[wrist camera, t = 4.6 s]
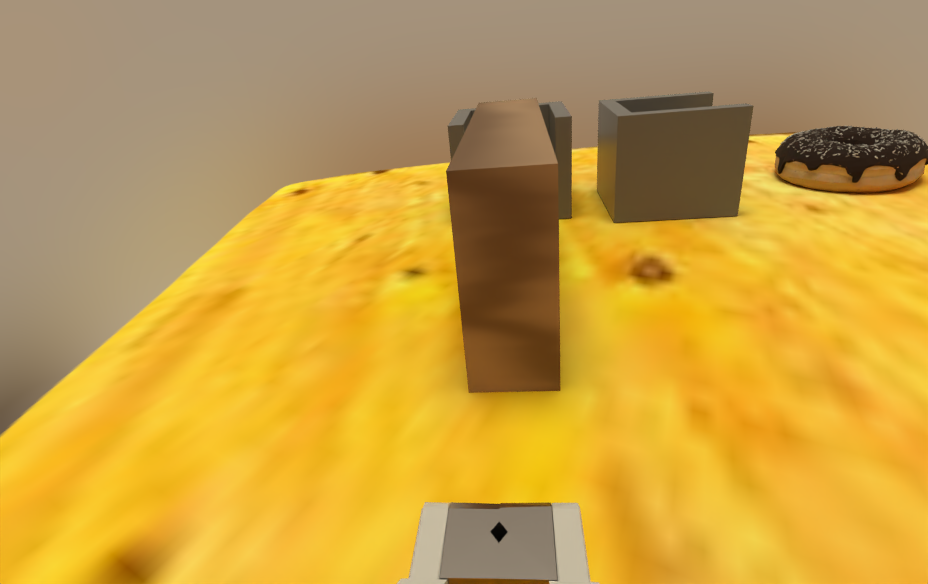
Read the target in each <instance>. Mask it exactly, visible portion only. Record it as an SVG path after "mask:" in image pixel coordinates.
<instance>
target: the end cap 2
mask: <svg viewBox="0 0 928 584" xmlns="http://www.w3.org/2000/svg"><path fill="white" fill-rule="evenodd" d="M712 102H713V93H711V92H699V93H686V94H674V95H662V96H650V97H639V98H638V97H637V98H626V99H612V100H600V101H599V117H598V119H599V120H598V122H599V123H598V162H597V191H598V193H599V195H600V197H601V199H602V201H603V203H604V205H605V207H606V209H607V211H608V212H609V214H610V216H611V218H612V220H613V222H614V223H618V222H636V221H654V220H672V219H690V218H708V217H726V216H738V209H739V202H740V195H741V188H742V181H743V174H744V168H745V161H746V154H747V147H748V140H749V133H750V126H751V118H752V112H753V105H749V104H736V105H723V106H712Z"/></svg>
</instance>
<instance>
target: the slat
mask: <svg viewBox="0 0 928 584" xmlns="http://www.w3.org/2000/svg"><path fill="white" fill-rule="evenodd" d="M446 173H447V183H448V193H449V203H450V212H451V222H452V232H453V242H454V252H455V261H456V271H457V281H458V291H459V301H460V310H461V320H462V330H463V340H464V350H465V359H466V369H467V379H468V389H469V393H471V392H521V391H560V313H559V208H558V162H557V159H556V156H555V153H554V150H553V147H552V144H551V141H550V138H549V135H548V132H547V129H546V125H545V122H544V119H543V116H542V113H541V110H540V107H539V104H538V101H537V98H532V99H520V100H508V101H496V102H484V103H479V104H478V106H477V108H476V110H475V112H474V114H473V116H472V118H471V120H470V122H469V124H468V127H467V129H466V131H465V133H464V135H463V137H462V139H461V141H460V143H459V145H458V147H457V150H456V152H455V154H454V156H453V158H452V160H451V162H450V164H449V166H448V168H447V171H446Z"/></svg>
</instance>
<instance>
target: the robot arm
mask: <svg viewBox="0 0 928 584" xmlns="http://www.w3.org/2000/svg"><path fill="white" fill-rule="evenodd" d="M397 584H600V583H599V582H590V575H589V568H588V561H587V554H586V547H585V540H584V533H583V526H582V519H581V512H580V507H579V505H578V503H552V504H551V503H500V504H482V503H431V502H425V504H424V506H423V508H422V511H421V516H420V522H419V527H418V532H417V537H416V543H415V548H414V553H413V558H412V564H411V569H410V574H409V579H400V580H399V581H398V583H397Z"/></svg>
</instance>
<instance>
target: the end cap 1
mask: <svg viewBox="0 0 928 584" xmlns="http://www.w3.org/2000/svg"><path fill="white" fill-rule="evenodd" d="M538 104H539V107H540V110H541V113H542V116H543V119H544V122H545V125H546V129H547V132H548V135H549V138H550V141H551V144H552V147H553V150H554V153H555V156H556V159H557V162H558V208H559V219H565V218H571V183H572V139H571V138H572V137H571V136H572V134H571V133H572V131H571V130H572V129H571V128H572V126H571V125H572V116H571V115H570V113H569V112H568V110H567V109H566V108H565V106H564V104H563V103H562V102H549V103H538ZM475 110H476V108H475V109H463V110H458V112H457V113H456V115H455V116H454V118H453V119H452V121H451V122H450V123H449V125H448V133H449V142H450V153H451V160H452V158H453V156H454V154H455V152H456V150H457V147H458V145H459V143H460V141H461V139H462V137H463V135H464V133H465V131H466V129H467V127H468V124H469V122H470V120H471V118H472V116H473V114H474V112H475Z"/></svg>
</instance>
